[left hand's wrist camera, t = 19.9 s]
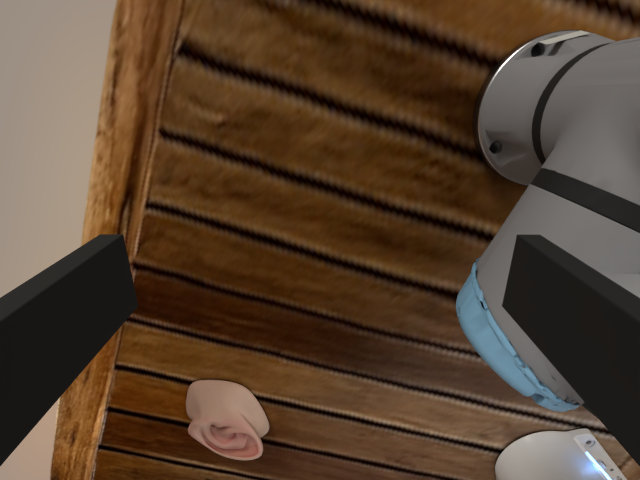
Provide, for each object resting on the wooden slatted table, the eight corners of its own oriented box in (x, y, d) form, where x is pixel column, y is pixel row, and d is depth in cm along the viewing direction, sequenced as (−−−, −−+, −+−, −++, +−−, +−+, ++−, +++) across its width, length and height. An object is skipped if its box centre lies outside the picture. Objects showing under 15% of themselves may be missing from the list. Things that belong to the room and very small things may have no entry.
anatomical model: (163, 405, 50) (245, 391, 49) (174, 384, 53) (250, 371, 52) (196, 472, 54) (271, 461, 53) (204, 448, 58) (274, 437, 57)
